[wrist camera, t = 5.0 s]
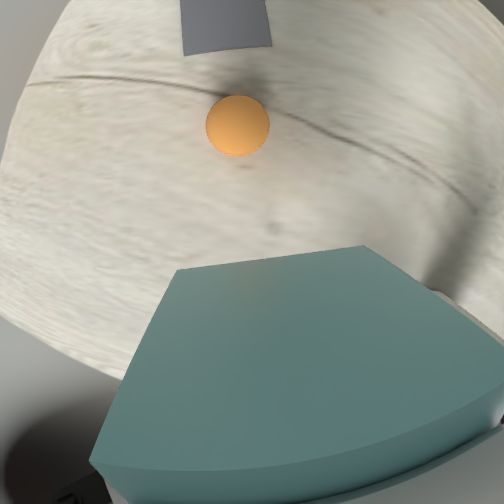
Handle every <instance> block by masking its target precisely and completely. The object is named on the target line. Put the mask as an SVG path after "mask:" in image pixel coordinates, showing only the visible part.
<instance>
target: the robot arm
mask: <svg viewBox="0 0 504 504" xmlns="http://www.w3.org/2000/svg"><path fill="white" fill-rule="evenodd" d="M52 504H129V503H128V502H127V501H126V500H125V499H124V498H123V497H122V496H121V495H120V494H119V493H118V492H117V491H116V490H115V489H114V488H113V487H112V486H111V485H110V484H109V483H108V482H107V481H106V480H105V479H104V478H103V476H102V475H101V474H100V473H99V472H98V471H95V472H93V473H91V474H89V475H87V476H85V477H83V478H81V479H79V480H77V481H75V482H73V483H71V484H69V485H67V486H65V487H63V488H61V489H59V490H58V491H57V492H56V493H55V494H54V495H53V498H52ZM298 504H504V414H503V416H502V418H501V419H500V421H499V423H498V425H497V426H496V427H495V428H493V429H491V430H489V431H487V432H485V433H484V434H482V435H480V436H478V437H476V438H475V439H473V440H471V441H469V442H468V443H466V444H464V445H462V446H460V447H458V448H457V449H455V450H453V451H451V452H449V453H447V454H445V455H443V456H441V457H439V458H437V459H435V460H433V461H431V462H429V463H426V464H424V465H422V466H420V467H417V468H415V469H413V470H410V471H408V472H406V473H403V474H401V475H398V476H395V477H393V478H390V479H387V480H385V481H382V482H379V483H376V484H373V485H370V486H367V487H364V488H361V489H357V490H354V491H350V492H347V493H343V494H339V495H335V496H331V497H327V498H323V499H318V500H314V501H309V502H303V503H298Z"/></svg>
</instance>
